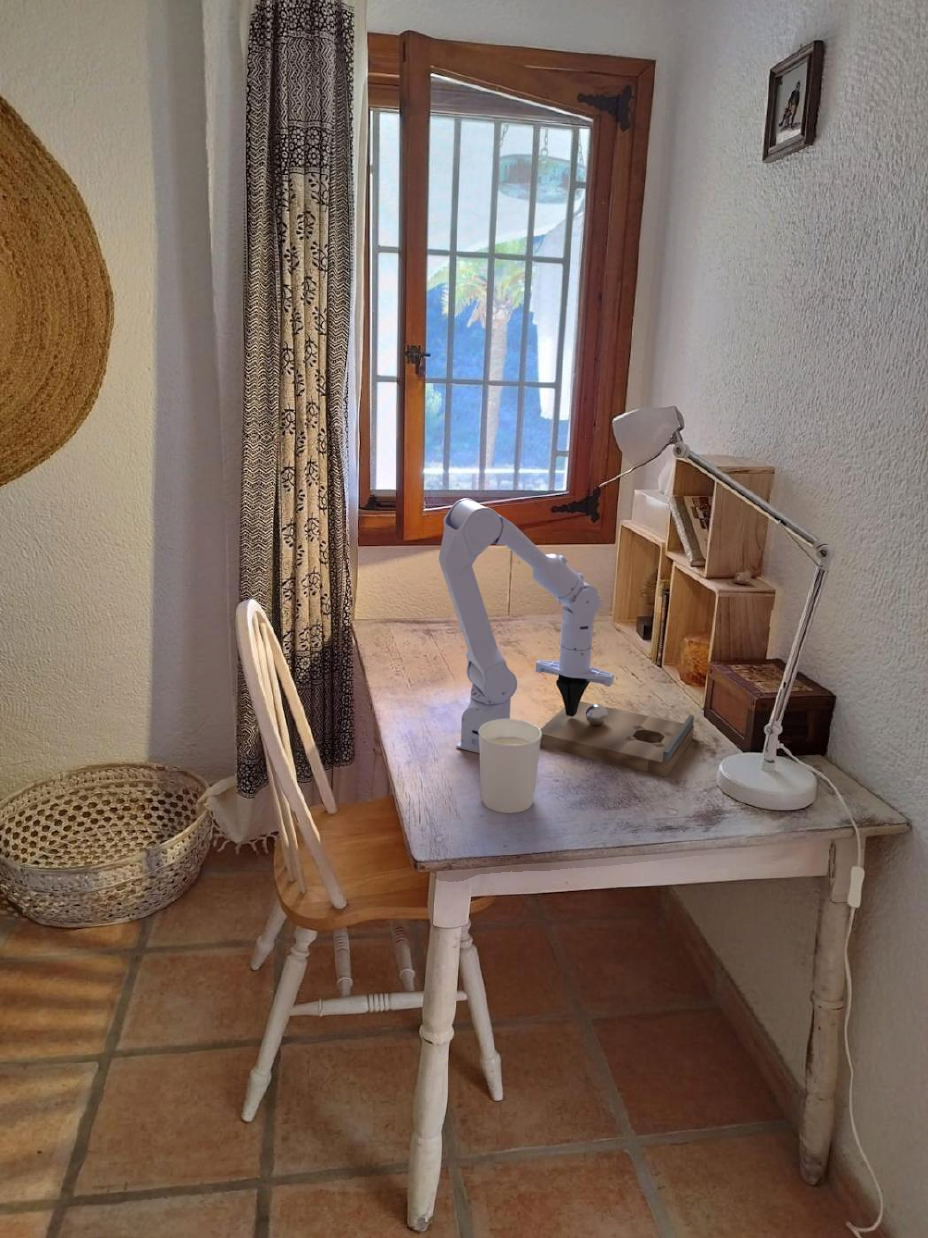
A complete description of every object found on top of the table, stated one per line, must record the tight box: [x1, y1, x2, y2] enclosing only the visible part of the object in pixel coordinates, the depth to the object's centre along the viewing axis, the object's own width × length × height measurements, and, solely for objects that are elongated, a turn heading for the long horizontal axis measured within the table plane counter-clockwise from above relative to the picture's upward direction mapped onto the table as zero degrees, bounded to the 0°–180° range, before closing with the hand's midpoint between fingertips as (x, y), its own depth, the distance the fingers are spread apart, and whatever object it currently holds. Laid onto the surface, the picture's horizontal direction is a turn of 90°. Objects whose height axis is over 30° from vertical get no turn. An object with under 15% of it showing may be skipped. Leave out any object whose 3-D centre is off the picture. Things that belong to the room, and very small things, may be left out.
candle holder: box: [479, 718, 542, 814], centre depth 140 cm, size 10×10×12 cm
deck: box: [540, 700, 695, 778], centre depth 163 cm, size 24×18×4 cm
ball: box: [586, 703, 608, 725], centre depth 164 cm, size 4×4×4 cm
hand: (571, 714), depth 166 cm, fingers closed
